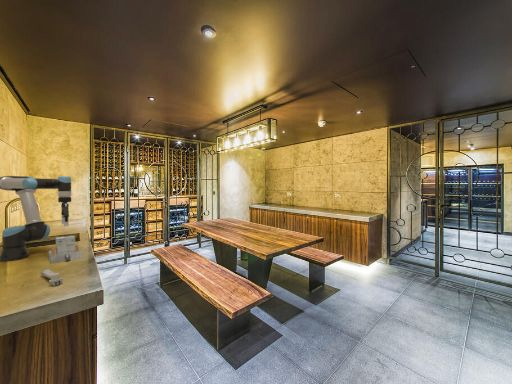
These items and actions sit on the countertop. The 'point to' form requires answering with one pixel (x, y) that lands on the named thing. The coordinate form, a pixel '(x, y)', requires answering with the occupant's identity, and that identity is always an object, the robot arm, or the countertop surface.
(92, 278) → the countertop surface
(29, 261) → the countertop surface
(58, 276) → the flashlight
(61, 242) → the light bulb box
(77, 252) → the orange-striped white panel
